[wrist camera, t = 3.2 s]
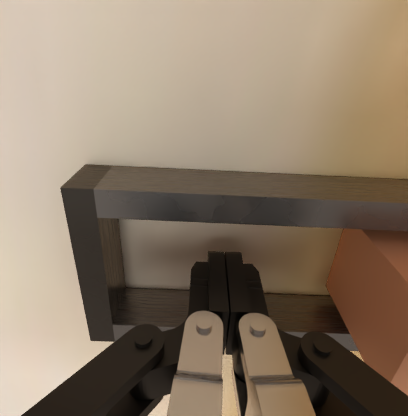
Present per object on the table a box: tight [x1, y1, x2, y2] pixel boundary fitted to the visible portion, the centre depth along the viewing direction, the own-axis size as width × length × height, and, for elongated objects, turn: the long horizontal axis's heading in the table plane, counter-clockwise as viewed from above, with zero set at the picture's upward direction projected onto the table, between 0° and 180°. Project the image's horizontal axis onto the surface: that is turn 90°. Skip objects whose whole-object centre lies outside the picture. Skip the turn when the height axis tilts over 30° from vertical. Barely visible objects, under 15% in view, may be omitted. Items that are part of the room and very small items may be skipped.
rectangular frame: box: [61, 165, 408, 351], centre depth 14 cm, size 23×8×2 cm, turn 87°
